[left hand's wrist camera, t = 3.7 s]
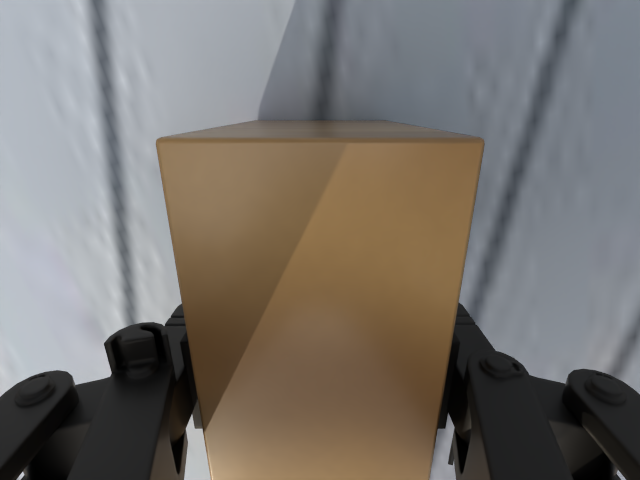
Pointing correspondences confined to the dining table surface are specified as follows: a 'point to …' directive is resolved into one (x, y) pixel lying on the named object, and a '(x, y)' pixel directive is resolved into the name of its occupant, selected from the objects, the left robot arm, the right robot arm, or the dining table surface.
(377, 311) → the bar
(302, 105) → the dining table surface
